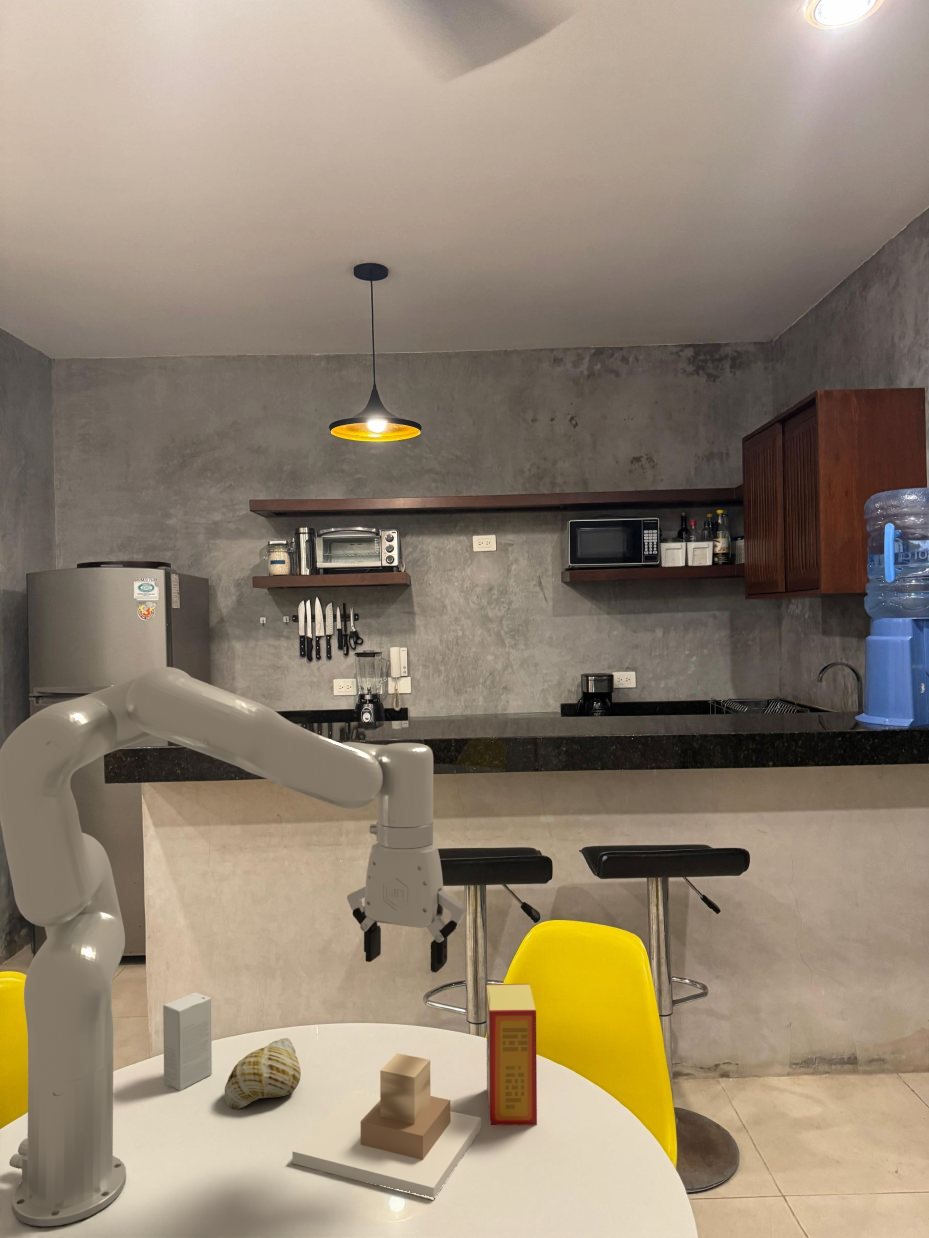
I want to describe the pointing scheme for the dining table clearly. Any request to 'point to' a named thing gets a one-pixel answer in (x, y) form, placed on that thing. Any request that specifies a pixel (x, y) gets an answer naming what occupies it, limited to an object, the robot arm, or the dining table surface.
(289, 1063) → the seashell
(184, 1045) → the skincare box
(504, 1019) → the baking soda box
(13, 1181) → the dining table surface
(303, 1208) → the dining table surface
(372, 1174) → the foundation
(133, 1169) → the dining table surface
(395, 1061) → the oak block
